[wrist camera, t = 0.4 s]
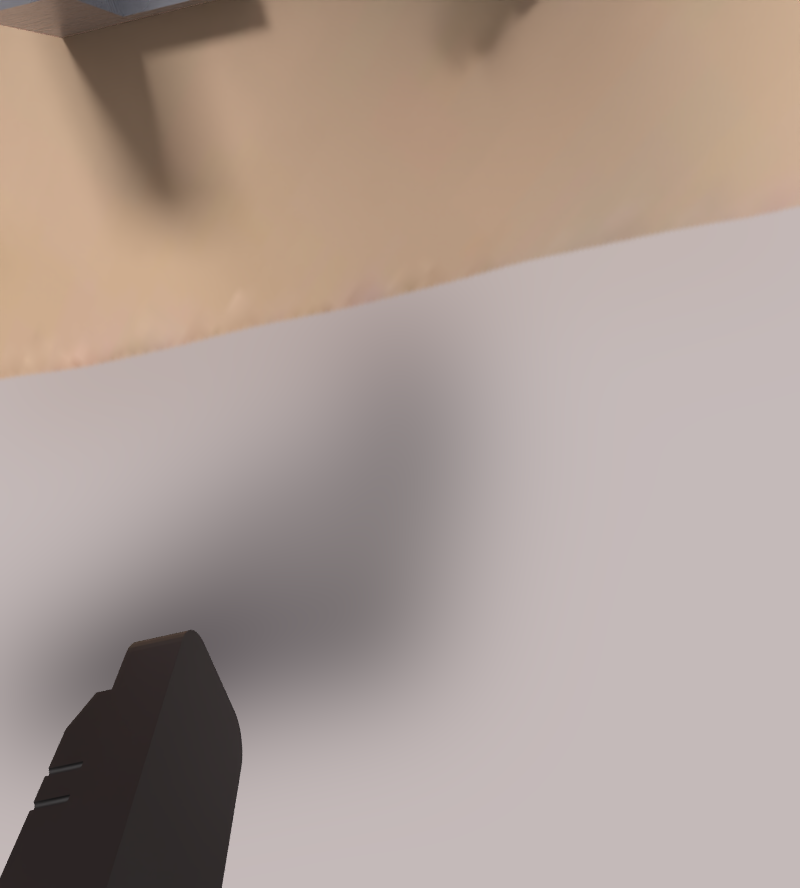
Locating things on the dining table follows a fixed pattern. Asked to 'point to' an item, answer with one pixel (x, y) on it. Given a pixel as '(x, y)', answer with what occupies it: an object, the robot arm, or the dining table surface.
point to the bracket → (81, 13)
